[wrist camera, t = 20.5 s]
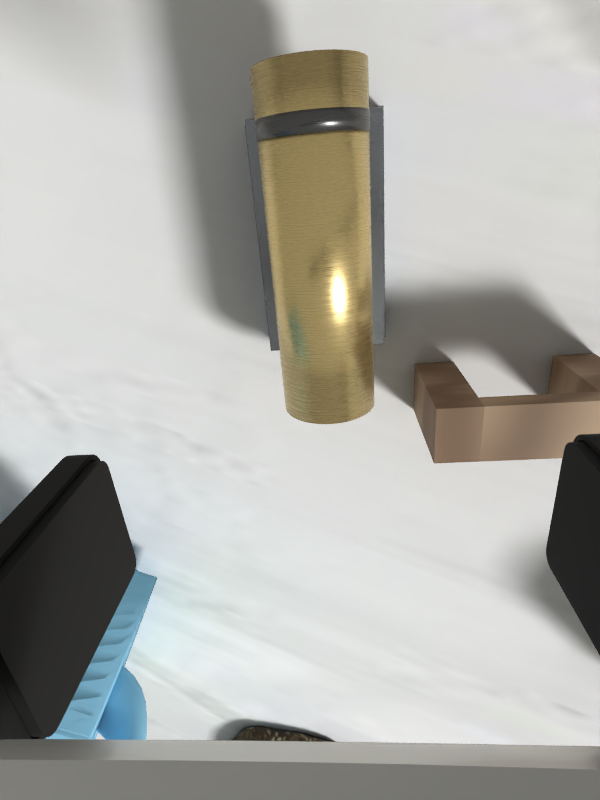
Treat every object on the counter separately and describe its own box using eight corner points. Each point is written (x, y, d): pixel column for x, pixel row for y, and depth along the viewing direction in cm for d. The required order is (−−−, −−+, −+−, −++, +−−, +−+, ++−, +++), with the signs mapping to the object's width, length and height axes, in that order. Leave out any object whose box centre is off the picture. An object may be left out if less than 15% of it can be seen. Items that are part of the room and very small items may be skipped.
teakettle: (47, 688, 42) (-80, 921, 29) (-101, 538, 35) (-358, 754, 22) (232, 640, 38) (182, 884, 25) (106, 460, 31) (-55, 666, 18)
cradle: (381, 107, 22) (390, 96, 19) (383, 332, 27) (390, 352, 24) (247, 121, 23) (235, 112, 20) (272, 340, 27) (265, 360, 24)
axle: (280, 83, 20) (226, 66, 17) (382, 64, 18) (346, 41, 15) (306, 381, 26) (269, 417, 22) (384, 389, 24) (359, 429, 21)
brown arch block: (593, 353, 27) (661, 397, 21) (584, 401, 28) (646, 454, 22) (414, 363, 27) (436, 409, 22) (413, 409, 29) (434, 463, 23)
